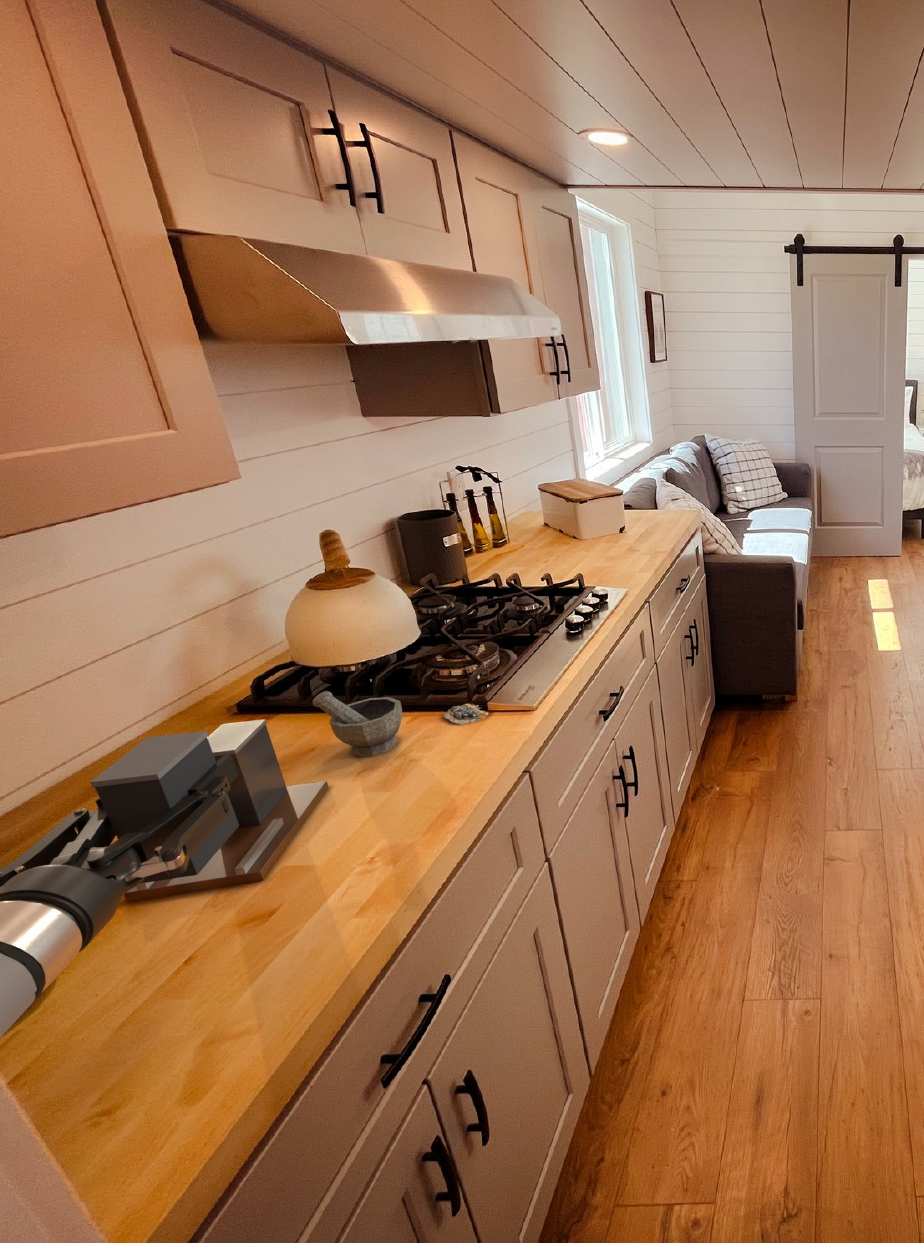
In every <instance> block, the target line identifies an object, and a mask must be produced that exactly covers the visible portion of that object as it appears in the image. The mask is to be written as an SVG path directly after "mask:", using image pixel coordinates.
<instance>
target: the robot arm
mask: <svg viewBox="0 0 924 1243" xmlns="http://www.w3.org/2000/svg"><path fill="white" fill-rule="evenodd" d="M238 776H239V775H238V772H237V770H236V767H235V764H234V761H233V758H232V755H224V756H222V757H221V758H220V759H219V760H218V761H217V762H216V763H215V764H214V765H213V766H212V767H211V768H210V769H209V770H208V771H207V772H206V773H205V774H204V775H203V776H202V777H201V778H200V779H199V780H198V781H197V782H196V783H195V784H194V785H193V786H191V787H190V788H189V789H188V793H189V795H190V796H189V797H187V798H186V799H185V800H183V801H182V802H180V803H179V804H177V805H176V806H174V807H173V808H172V809H170V810H169V811H167V812H166V813H164V814H163V815H161V816H160V817H159V818H157V819H156V820H154V821H153V822H151V823H150V824H148V825H147V826H146V827H144V828H143V829H141V830H140V831H138V832H137V833H127V834H126V835H124V836H123V837H121V838H120V839H117V840H116V841H114V839H115V838H116V837H117V836H116V834H115V832H114V829H113V827H112V825H111V823H110V820H109V818H108V816H107V814H106V811H105V809H104V807H103V805H102V802H101V800H100V798H99V797H98V798H96V799H95V803H96V806H97V808H96V809H95V810H91V811H89V809H88V808H79V809H76V810H75V811H73V812H71V813H70V814H68V815H67V816H66V817H65V818H64V819H62V820H61V821H60V822H58V824H56V825H55V826H54V827H53V828H52V829H51V830H49V831H48V832H47V833H46V834H44V835H43V836H42V837H41V838H40V839H38V841H36V842H35V843H33V844H32V845H31V846H30V847H29V848H28V849H27V850H25V851H24V852H23V853H22V854H21V855H19V856H18V857H16V859H15V860H13V861H12V862H10V863H8V864H7V865H5V866H3V867H1V868H0V1039H1V1038H2V1037H3V1036H4V1035H5V1033H7V1031H8V1030H9V1029H10V1028H11V1027H12V1026H13V1025H14V1024H15V1023H16V1021H17V1020H18V1019H19V1018H20V1017H22V1015H23V1014H24V1013H25V1012H26V1011H27V1010H28V1008H29V1007H31V1006H32V1005H33V1003H35V1002H36V1000H38V998H39V997H40V995H41V994H43V992H45V990H46V989H47V988H48V987H50V985H51V984H52V983H53V982H54V981H55V980H56V979H57V978H58V976H60V974H61V973H63V971H64V970H65V969H66V968H67V967H68V966H69V965H70V964H71V962H73V961H74V959H76V957H77V956H78V955H79V953H81V952H82V951H84V950H85V948H86V947H88V945H89V944H90V943H91V942H92V941H93V940H94V939H95V938H96V937H97V936H98V935H99V933H101V931H102V930H103V929H105V927H106V926H107V925H108V924H109V923H110V922H111V920H112V919H114V916H115V915H116V912H117V910H118V908H119V906H120V904H121V900H122V898H123V897H124V894H125V893H127V892H128V891H129V890H131V889H133V888H134V887H136V886H137V885H139V884H140V883H141V882H142V881H143V880H144V878H145V877H146V876H150V875H153V874H156V873H160V872H163V871H167V873H168V876H170V877H174V876H178V875H180V874H182V873H183V872H185V871H186V869H187V865H188V862H189V859H190V858H191V857H192V855H193V854H194V853H195V852H196V851H197V850H198V849H199V848H200V847H201V846H202V845H203V843H204V842H205V841H206V840H207V839H208V838H209V837H210V836H211V835H212V834H213V833H214V831H215V830H216V829H217V828H218V827H219V826H220V825H221V824H222V823H223V822H224V820H225V819H226V818H227V817H228V816H229V815H230V814H231V812H232V811H231V809H230V806H229V803H228V800H227V797H226V795H225V794H226V793H227V792H228V791H229V790H230V784H231V783H232V782H233V781H234V780H235V779H236V778H237V777H238Z"/></svg>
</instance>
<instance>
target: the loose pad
mask: <svg viewBox="0 0 924 1243" xmlns="http://www.w3.org/2000/svg"><path fill="white" fill-rule="evenodd" d="M208 736H209V733H208V731H207V730H202V731H193V732H192V731H191V732H184V733H174V734H165V735H157V736H156V735H154V736H147V737H146V738H144V739H143V740H142V741H141V742H139V743H138V744H137V745H136V746H134V747H133V748H132V749H130V750H129V751H128V752H126V753H125V754H124V755H122V756H121V757H120V758H119V759H118V760H116V761H115V762H114V763H113V764H111V765H110V766H108V767H107V768H106V769H105V770H104V771H102V772H101V773H100V774H98V775H97V776H96V777H94V778H93V779H92V780H91V781H90V782H89V783H90V785H91V787H92V788H94V789H95V791H96V793H97V796H98V798H100V800H101V802H102V805H103V807H104V809H105V811H106V814H107V816H108V818H109V820H110V823H111V825H112V827H113V829H114V832H115V834H116V836H115V837H116V838H117V840H118V839H120V838H121V837H123V836H124V835H126V834H127V833H137V832H138V831H140V830H141V829H143V828H144V827H146V826H147V825H148V824H150V823H151V822H153V821H154V820H156V819H157V818H159V817H160V816H161V815H163V814H164V813H166V812H167V811H169V810H170V809H172V808H173V807H174V806H176V805H177V804H179V803H180V802H182V801H183V800H185V799H186V798H187V797H189V796H190V795H189V793H188V789H189V788H190V787H191V786H193V785H194V784H195V783H196V782H197V781H198V780H199V779H200V778H201V777H202V776H203V775H204V774H205V773H206V772H207V771H208V770H209V769H210V768H211V767H212V766H213V765H214V764H215V763H216V760H215V757H214V755H213V752H212V749H211V746H210V744H209V741H208V738H207V737H208ZM225 795H226V797H227V800H228V803H229V806H230V809H231V811H232V812H231V814H230V815H229V816H228V817H227V818H226V819H225V820H224V822H223V823H222V824H221V825H220V826H219V827H218V828H217V829H216V830H215V831H214V833H213V834H212V835H211V836H210V837H209V838H208V839H207V840H206V841H205V842H204V843H203V845H202V846H201V847H200V848H199V849H198V850H197V851H196V852H195V853H194V854H193V855H192V857H191V858H190V859H189V862H188V865H187V869H186V871H185V872H183V873H182V874H180V875H178V876H174V877H170V876H168V873H167V871H163V872H160V873H156V874H153V875H150V876H146V877H145V878H144V880H143V881H142V882H141V883H147V882H154V881H160V880H167V879H174V878H180V877H187V876H194V875H198V874H199V872H200V871H201V870H202V869H203V868H204V866H205V865H206V864H207V863H208V862H209V861H210V859H211V858H212V857H213V856H214V855H215V854H216V852H217V851H218V850H219V849H220V848H221V846H222V845H223V844H224V843H225V842H226V841H227V839H228V838H229V837H230V836H231V835H232V834H233V832H234V831H235V830H236V829H237V828H238V826H239V823H238V821H237V818H236V815H235V812H234V810H233V807H232V804H231V801H230V799H229V796H228V793H226V794H225ZM141 883H140V884H141Z"/></svg>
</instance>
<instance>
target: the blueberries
mask: <svg viewBox="0 0 924 1243" xmlns="http://www.w3.org/2000/svg"><path fill="white" fill-rule="evenodd" d="M480 709H481V707H479V704H477V705H476V704H474V703H464V704H462V705H453V706H451V708H449V709H448V710H447V712H443V713H441V716H442V717H443V718H445V720H449V722H451V723H453V724H457V725H464V724H465V725H467V724H468V723H474V722H475V723H476V722H479V721H483V720H484V719H485V718H486V716H489V715H488V714H489V712H488V711H485V710H480ZM480 714H483V715H484V716H482V717H481V715H480Z"/></svg>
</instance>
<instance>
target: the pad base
mask: <svg viewBox="0 0 924 1243" xmlns="http://www.w3.org/2000/svg"><path fill="white" fill-rule="evenodd" d="M207 738H208V741H209V744H210V746H211V749H212V752H213V755H214V757H215V760H216V762H217V761H218V760H219V759H220V758H221V757H222V756H224V755H232V758H233V761H234V764H235V767H236V770H237V772H238V775H239V776H238V777H237V778H236V779H235V780H234V781H233V782H232V783H231V784H230V790H229V791H228V792H227V793H228V796H229V799H230V801H231V804H232V807H233V810H234V812H235V815H236V818H237V821H238V823H239V826H238V828H237V829H236V830H235V831H234V832H233V834H232V835H231V836H230V837H229V838H228V839H227V841H226V842H225V843H224V844H223V845H222V846H221V848H220V849H219V850H218V851H217V852H216V854H215V855H214V856H213V857H212V858H211V859H210V861H209V862H208V863H207V864H206V865H205V866H204V868H203V869H202V870H201V871H200V872H199V874H198V875H194V876H187V877H180V878H174V879H167V880H160V881H154V882H147V883H141V884H139V885H137V886H136V887H134V888H133V889H131V890H129V891H128V892H127V893H125V894H124V895H123V897H124V899H125V901H126V903H132V902H137V901H144V900H151V899H156V898H163V897H169V896H176V895H181V894H188V893H189V894H190V893H193V892H201V891H208V890H213V889H219V888H220V889H221V888H226V887H231V886H232V887H233V886H238V885H243V884H251V883H258V882H263V881H265V879H266V878H267V877H268V875H269V873H270V872H271V871H272V870H273V868H274V867H275V865H276V864H277V862H278V861H279V860H280V859H281V857H282V855H283V854H284V852H285V851H286V850H287V849H288V847H289V846H290V844H291V843H292V842H293V840H294V839H295V837H296V836H297V835H298V833H299V832H300V830H301V829H302V828H303V826H304V824H306V822H307V821H308V819H309V817H311V815H312V813H313V812H314V811H315V809H316V808H317V806H319V804H320V802H321V801H322V799H323V798H324V797H325V795H326V794H327V793H328V791H329V789H330V787H329V783H328V781H327V780H324V781H316V782H308V783H299V784H294V785H286V782H285V778H284V776H283V772H282V770H281V766H280V763H279V760H278V757H277V755H276V754H277V753H276V751H275V747H274V745H273V741H272V739H271V736H270V733H269V730H268V727H267V720H266V719H256V720H248V721H247V720H246V721H240V722H229V723H228V722H227V723H221V725H219V726H218V727H217V728H216V729H215V730H214V731H212V732H211V733H210V735H209V734H208V736H207Z"/></svg>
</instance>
